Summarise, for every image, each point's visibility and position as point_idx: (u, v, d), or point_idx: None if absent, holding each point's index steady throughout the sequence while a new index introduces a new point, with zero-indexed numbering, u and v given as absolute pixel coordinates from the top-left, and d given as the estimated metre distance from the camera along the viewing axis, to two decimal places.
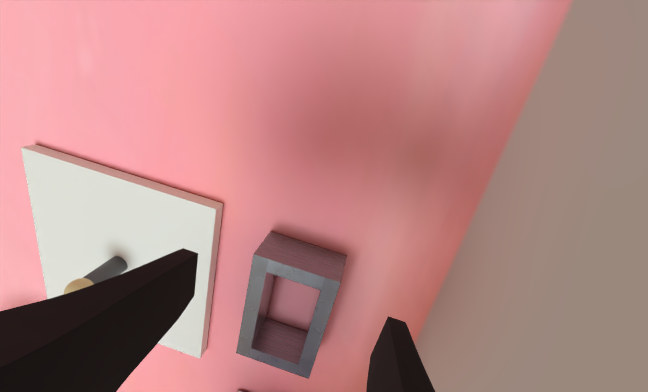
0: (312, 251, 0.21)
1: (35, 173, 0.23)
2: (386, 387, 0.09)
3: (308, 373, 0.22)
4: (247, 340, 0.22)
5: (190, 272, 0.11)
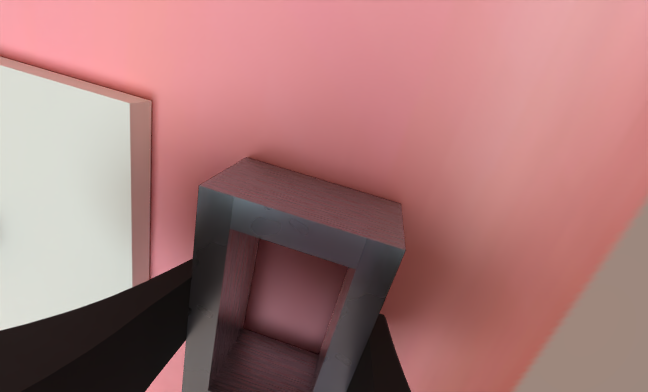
0: (332, 192, 0.10)
1: None
2: (361, 378, 0.09)
3: None
4: (200, 375, 0.11)
5: None
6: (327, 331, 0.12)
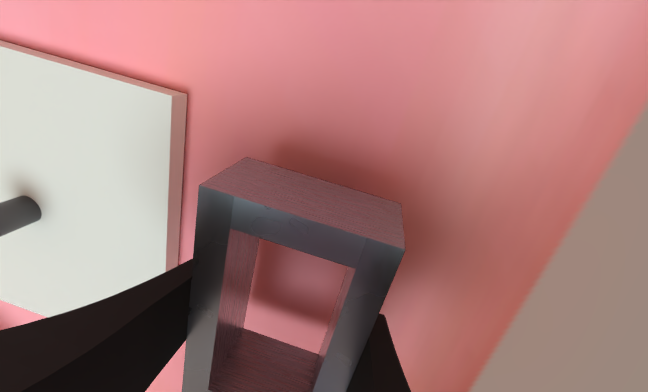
0: (332, 192, 0.10)
1: None
2: (361, 378, 0.09)
3: None
4: (200, 375, 0.11)
5: None
6: (327, 331, 0.12)
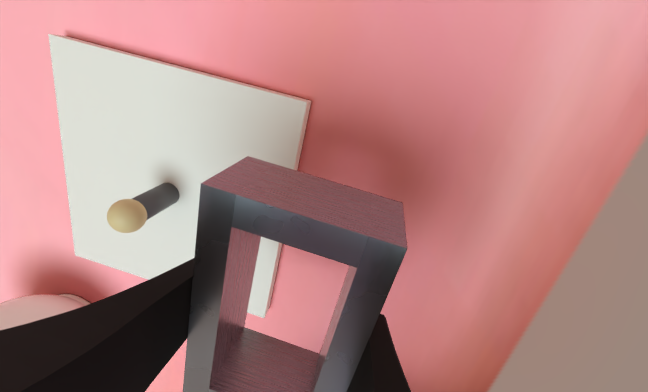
0: (333, 191, 0.10)
1: (66, 70, 0.18)
2: (361, 378, 0.09)
3: None
4: (201, 374, 0.11)
5: None
6: (328, 330, 0.12)
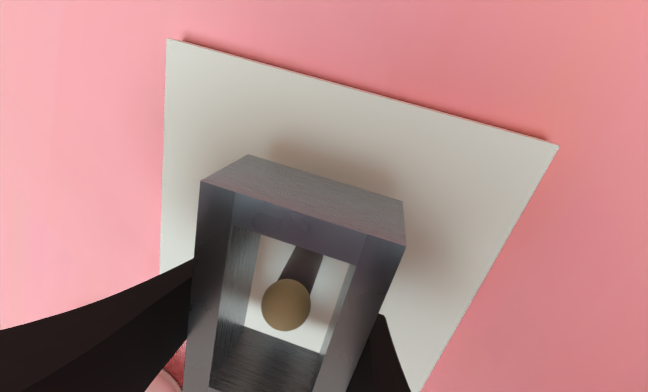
0: (333, 189, 0.10)
1: (185, 90, 0.13)
2: (361, 378, 0.09)
3: None
4: (200, 372, 0.11)
5: None
6: (328, 329, 0.12)
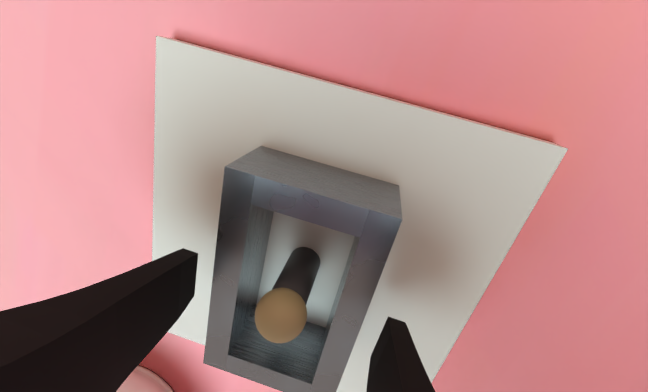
0: (338, 174, 0.11)
1: (176, 89, 0.12)
2: (386, 387, 0.09)
3: None
4: (221, 341, 0.12)
5: (190, 272, 0.11)
6: (333, 303, 0.14)
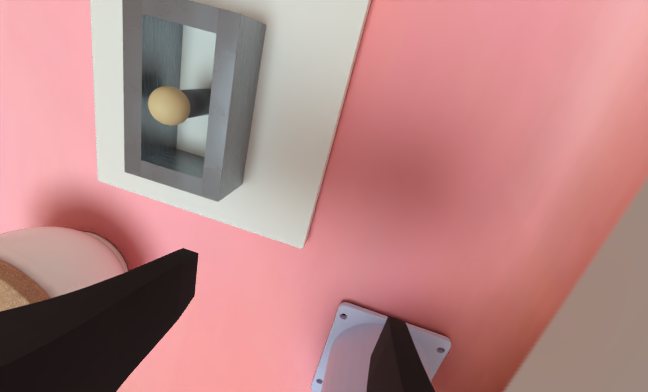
0: None
1: None
2: (386, 387, 0.09)
3: (216, 192, 0.16)
4: (135, 146, 0.16)
5: (190, 272, 0.11)
6: None
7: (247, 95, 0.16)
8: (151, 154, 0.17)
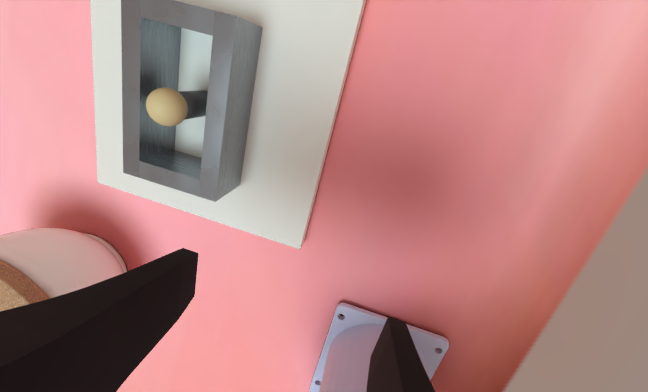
0: None
1: None
2: (386, 387, 0.09)
3: (214, 192, 0.17)
4: (133, 147, 0.17)
5: (190, 272, 0.11)
6: None
7: (244, 96, 0.16)
8: (149, 155, 0.17)
